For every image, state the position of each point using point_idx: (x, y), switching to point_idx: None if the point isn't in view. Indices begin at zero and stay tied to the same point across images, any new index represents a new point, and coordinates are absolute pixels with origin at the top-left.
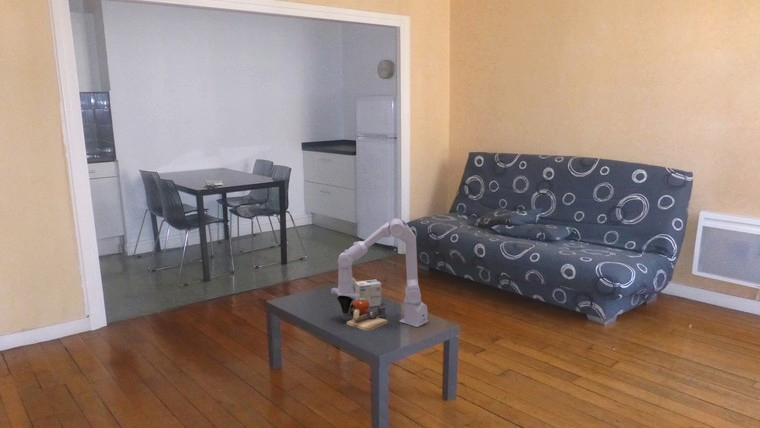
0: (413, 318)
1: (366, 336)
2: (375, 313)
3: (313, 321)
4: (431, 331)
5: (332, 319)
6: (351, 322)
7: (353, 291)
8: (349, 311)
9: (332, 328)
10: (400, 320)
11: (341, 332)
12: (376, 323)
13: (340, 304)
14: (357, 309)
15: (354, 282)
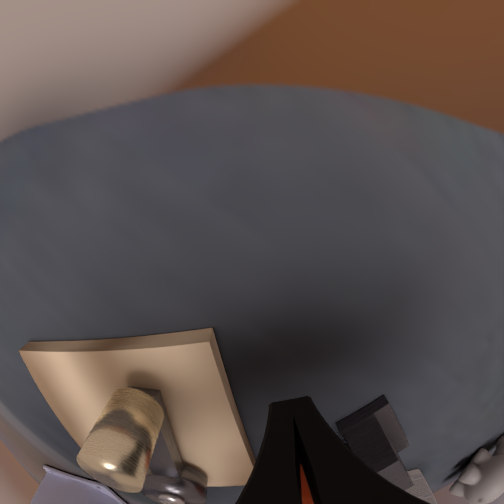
0: (55, 491)
1: None
2: (153, 498)
3: (453, 145)
4: (14, 450)
5: (397, 296)
6: (164, 360)
7: (462, 481)
8: (355, 445)
9: (212, 157)
10: (104, 489)
11: (84, 177)
12: (79, 432)
13: (362, 470)
14: (119, 486)
15: (474, 501)
